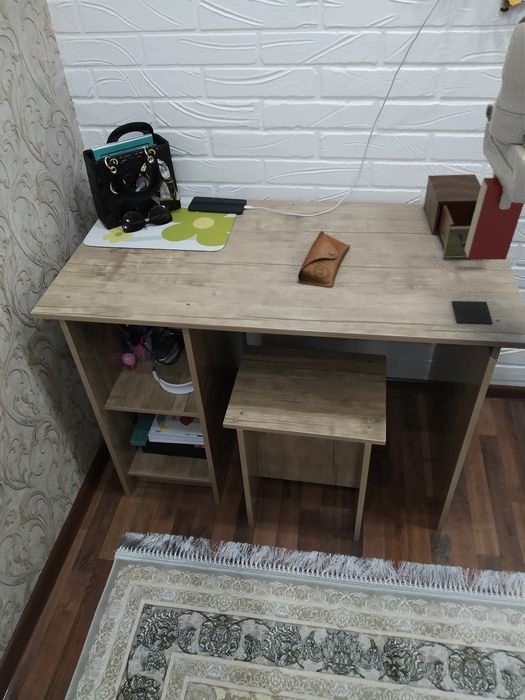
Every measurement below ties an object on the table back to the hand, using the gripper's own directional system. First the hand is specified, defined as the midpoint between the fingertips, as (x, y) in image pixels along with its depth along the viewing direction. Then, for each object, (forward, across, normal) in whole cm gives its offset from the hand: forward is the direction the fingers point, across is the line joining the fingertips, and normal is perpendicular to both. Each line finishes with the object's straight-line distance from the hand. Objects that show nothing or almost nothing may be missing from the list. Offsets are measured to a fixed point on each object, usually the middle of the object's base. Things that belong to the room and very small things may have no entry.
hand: (499, 201), depth 101 cm
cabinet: (+26, +38, -3) cm, 46 cm away
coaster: (+25, 0, 0) cm, 25 cm away
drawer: (+24, +24, -3) cm, 34 cm away
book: (+11, 0, 0) cm, 11 cm away
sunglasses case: (+26, +19, +30) cm, 43 cm away
